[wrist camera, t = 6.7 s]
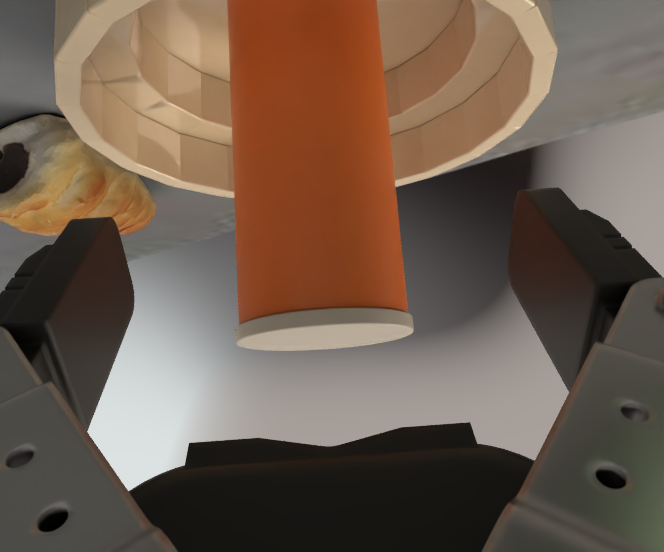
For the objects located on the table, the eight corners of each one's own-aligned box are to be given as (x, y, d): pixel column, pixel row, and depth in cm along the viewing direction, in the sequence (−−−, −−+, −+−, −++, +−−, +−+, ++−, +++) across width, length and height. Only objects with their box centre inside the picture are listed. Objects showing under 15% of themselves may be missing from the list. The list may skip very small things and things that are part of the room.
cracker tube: (194, 17, 18) (202, 349, 16) (285, -83, 15) (310, 320, 13) (314, 65, 21) (334, 352, 19) (412, -9, 18) (450, 329, 16)
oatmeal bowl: (1, 25, 19) (-6, 151, 18) (220, -427, 9) (229, -207, 8) (328, 131, 27) (335, 220, 26) (621, -48, 18) (648, 82, 17)
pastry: (189, 183, 32) (190, 254, 31) (83, 204, 34) (80, 271, 33) (59, 101, 23) (55, 195, 23) (-74, 136, 25) (-83, 224, 25)
